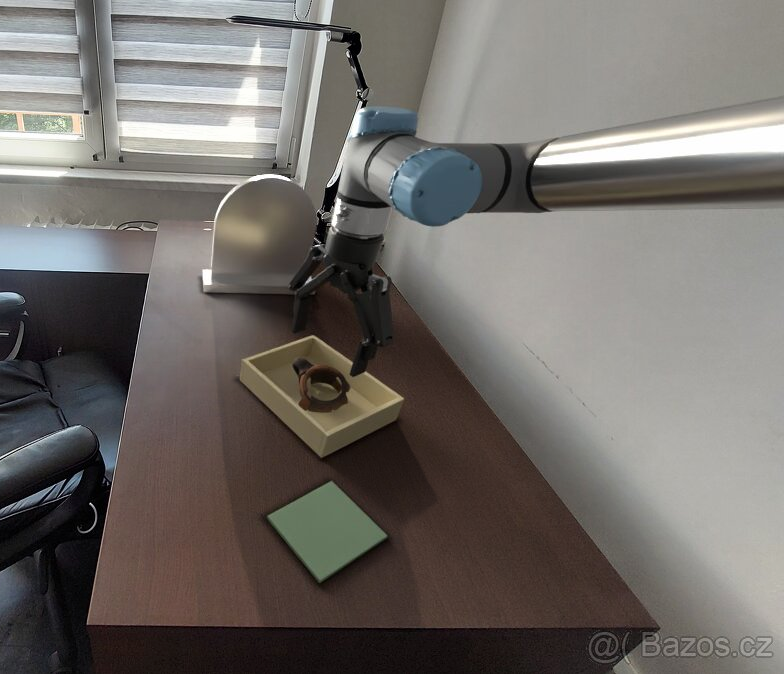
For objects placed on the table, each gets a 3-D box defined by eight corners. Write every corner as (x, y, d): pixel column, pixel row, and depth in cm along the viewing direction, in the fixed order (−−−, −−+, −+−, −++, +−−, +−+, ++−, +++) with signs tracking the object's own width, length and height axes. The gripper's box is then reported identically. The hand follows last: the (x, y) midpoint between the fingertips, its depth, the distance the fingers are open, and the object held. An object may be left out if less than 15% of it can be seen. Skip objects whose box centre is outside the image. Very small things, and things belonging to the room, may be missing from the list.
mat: (386, 538, 60) (387, 535, 59) (319, 583, 55) (320, 580, 54) (330, 483, 67) (331, 480, 67) (266, 518, 62) (267, 515, 61)
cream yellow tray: (396, 419, 78) (404, 398, 76) (321, 458, 71) (327, 436, 68) (308, 354, 94) (313, 334, 91) (239, 379, 86) (242, 359, 83)
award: (306, 278, 122) (327, 172, 107) (314, 294, 115) (338, 183, 100) (202, 276, 122) (208, 169, 106) (203, 292, 114) (210, 179, 99)
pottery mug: (356, 400, 82) (365, 383, 75) (320, 435, 81) (325, 421, 73) (306, 356, 88) (309, 337, 80) (271, 388, 86) (271, 372, 79)
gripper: (279, 206, 72) (261, 320, 84) (415, 269, 54) (369, 402, 66) (314, 200, 75) (293, 311, 87) (454, 258, 57) (403, 386, 69)
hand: (325, 351), depth 76 cm, fingers open, 13 cm apart
